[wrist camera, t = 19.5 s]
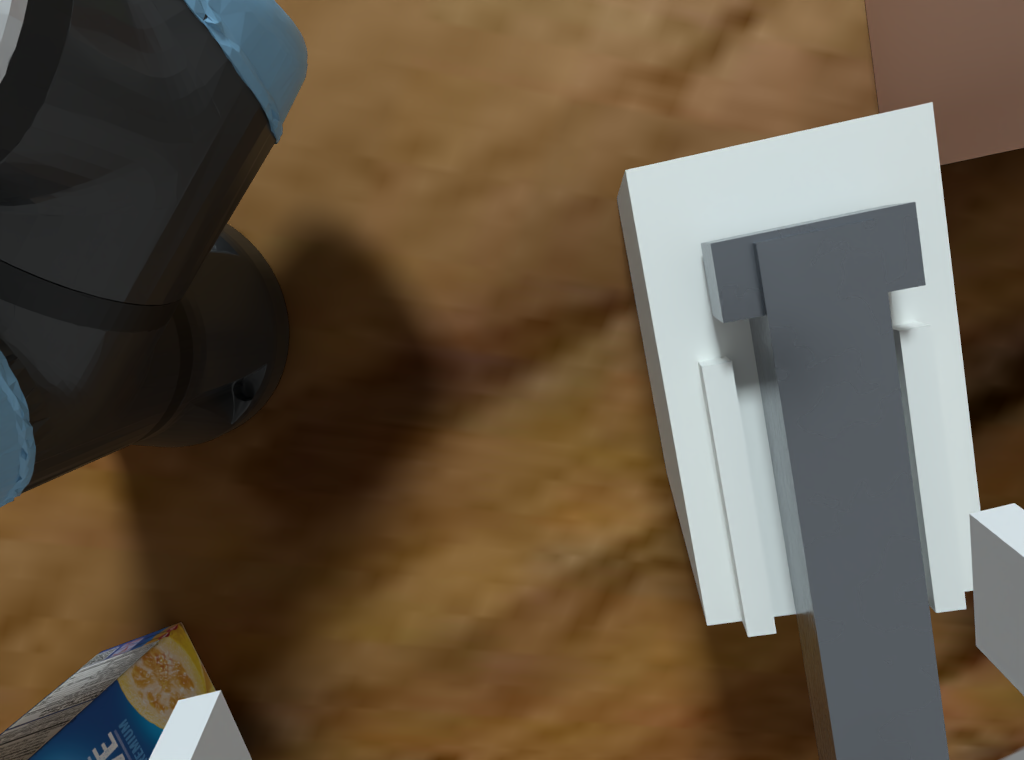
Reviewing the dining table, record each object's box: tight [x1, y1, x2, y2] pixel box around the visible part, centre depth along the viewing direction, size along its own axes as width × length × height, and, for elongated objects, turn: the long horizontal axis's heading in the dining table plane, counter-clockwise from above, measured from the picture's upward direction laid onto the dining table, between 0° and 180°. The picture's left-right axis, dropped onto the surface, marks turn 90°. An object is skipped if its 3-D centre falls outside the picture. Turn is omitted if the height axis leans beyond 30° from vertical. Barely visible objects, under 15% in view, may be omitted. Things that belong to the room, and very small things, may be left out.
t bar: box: [701, 202, 949, 760], centre depth 26 cm, size 6×22×4 cm, turn 12°
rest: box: [617, 102, 981, 637], centre depth 36 cm, size 10×17×21 cm, turn 12°
